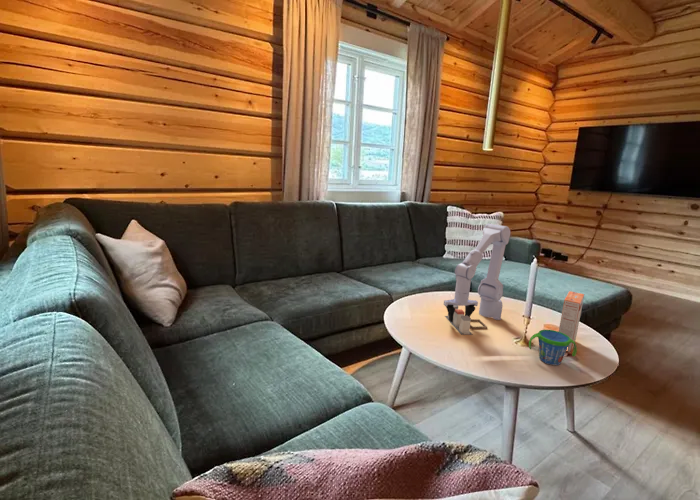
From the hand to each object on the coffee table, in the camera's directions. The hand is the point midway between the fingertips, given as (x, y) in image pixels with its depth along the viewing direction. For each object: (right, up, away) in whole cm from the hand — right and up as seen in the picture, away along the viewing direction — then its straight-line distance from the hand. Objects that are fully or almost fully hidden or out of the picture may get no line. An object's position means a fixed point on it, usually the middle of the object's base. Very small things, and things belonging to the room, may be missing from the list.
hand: (458, 321), depth 164 cm
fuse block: (0, -3, +1) cm, 3 cm away
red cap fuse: (0, -2, 0) cm, 2 cm away
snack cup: (+27, -10, -24) cm, 37 cm away
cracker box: (+40, -8, -10) cm, 43 cm away
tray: (+8, -3, +2) cm, 9 cm away
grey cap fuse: (-1, 0, +7) cm, 7 cm away
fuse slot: (+1, -3, -6) cm, 7 cm away
